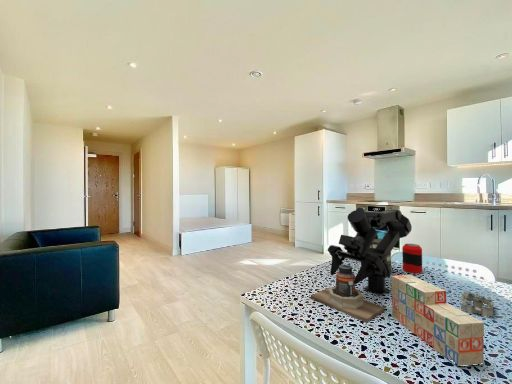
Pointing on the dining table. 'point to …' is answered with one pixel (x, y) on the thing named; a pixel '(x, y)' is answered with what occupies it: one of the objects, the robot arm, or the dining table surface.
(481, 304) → the egg carton
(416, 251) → the soda can
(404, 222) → the robot arm
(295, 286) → the dining table surface
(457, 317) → the stack of blocks
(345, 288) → the supplement bottle
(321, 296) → the collar board
